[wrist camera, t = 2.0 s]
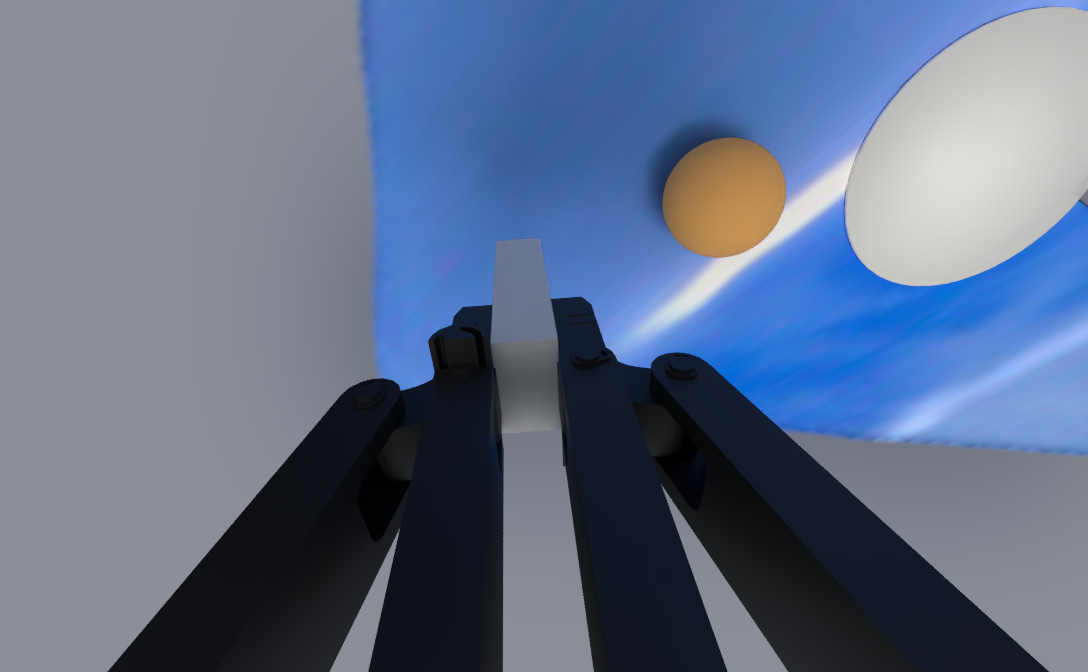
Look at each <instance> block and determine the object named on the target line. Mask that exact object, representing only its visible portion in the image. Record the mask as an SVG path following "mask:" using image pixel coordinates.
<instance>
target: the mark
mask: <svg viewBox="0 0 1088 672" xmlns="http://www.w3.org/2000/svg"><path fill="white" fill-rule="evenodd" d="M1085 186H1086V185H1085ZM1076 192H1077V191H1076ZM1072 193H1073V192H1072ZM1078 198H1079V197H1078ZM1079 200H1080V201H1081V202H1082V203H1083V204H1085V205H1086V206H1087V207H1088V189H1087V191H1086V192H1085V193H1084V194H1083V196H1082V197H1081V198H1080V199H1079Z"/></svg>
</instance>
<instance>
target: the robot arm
mask: <svg viewBox="0 0 1088 672" xmlns="http://www.w3.org/2000/svg"><path fill="white" fill-rule="evenodd" d="M428 343H429V348H430V352H431V357H432V362H433V366H434V371H435V373H434V377H433V379H432V380H430V381H428V382H427V383H425V384H422V385H419V386H416V387H413V388H410V389H406V390H403V391H400V387H399V385H398V384H397V383H395V382H394V381H393V380H388V379H384V378H382V379H371V380H367V381H363V382H360V383H358V384H356V385H354V386H352V387H350V388H349V389H348V390H346V391H345V392H344V393H343V394H342V395H341V396H340V397H339V398H338V400H337V401H336V402H335V403H334V404H333V405H332V407H331V408H330V409H329V410H328V411H327V413H326V414H325V415H324V416H323V417H322V418H321V420H320V421H319V422H318V423H317V425H316V426H315V427H314V428H313V429H312V430H311V431H310V433H309V434H308V435H307V436H306V438H305V439H304V440H303V441H302V442H301V443H300V445H299V446H298V447H297V448H296V449H295V450H294V452H293V453H292V454H291V455H290V456H289V457H288V459H287V460H286V461H285V462H284V464H283V465H282V466H281V467H280V468H279V469H278V471H277V472H276V473H275V474H274V475H273V476H272V478H271V479H270V480H269V481H268V482H267V484H266V485H265V486H264V487H263V488H262V490H261V491H260V492H259V493H258V494H257V495H256V497H255V498H254V499H253V500H252V501H251V503H250V504H249V505H248V506H247V507H246V508H245V510H244V511H243V512H242V513H241V514H240V516H239V517H238V518H237V519H236V520H235V521H234V523H233V524H232V525H231V526H230V527H229V529H228V530H227V531H226V532H225V533H224V534H223V536H222V537H221V538H220V539H219V540H218V542H217V543H216V544H215V545H214V546H213V548H212V549H211V550H210V551H209V552H208V553H207V555H206V556H205V557H204V558H203V559H202V560H201V562H200V563H199V564H198V565H197V566H196V568H195V569H194V570H193V571H192V572H191V574H190V575H189V576H188V577H187V578H186V579H185V581H184V582H183V583H182V584H181V585H180V587H179V588H178V589H177V590H176V591H175V592H174V594H173V595H172V596H171V597H170V598H169V600H168V601H167V602H166V603H165V604H164V606H163V607H162V608H161V609H160V610H159V611H158V613H157V614H156V615H155V616H154V617H153V619H152V620H151V621H150V622H149V623H148V624H147V626H146V627H145V628H144V629H143V630H142V632H141V633H140V634H139V635H138V636H137V638H136V639H135V640H134V641H133V642H132V643H131V645H130V646H129V647H128V648H127V649H126V651H125V652H124V653H123V654H122V655H121V657H120V658H119V659H118V660H117V661H116V662H115V664H114V665H113V666H112V667H111V668H110V670H109V671H108V672H330V670H331V667H332V666H333V663H334V661H335V659H336V657H337V655H338V653H339V651H340V649H341V647H342V645H343V643H344V641H345V639H346V637H347V635H348V633H349V631H350V629H351V627H352V625H353V622H354V620H355V619H356V617H357V614H358V612H359V610H360V608H361V606H362V604H363V602H364V600H365V598H366V596H367V594H368V592H369V590H370V588H371V586H372V584H373V582H374V579H375V578H376V575H377V574H378V572H379V569H380V567H381V565H382V563H383V561H384V559H385V557H386V555H387V553H388V551H389V549H390V547H391V545H392V543H393V541H394V539H395V537H396V534H397V533H398V531H399V529H400V531H399V536H398V540H397V545H396V549H395V554H394V558H393V563H392V567H391V572H390V576H389V581H388V585H387V590H386V594H385V599H384V603H383V608H382V612H381V617H380V621H379V626H378V630H377V635H376V639H375V644H374V649H373V653H372V658H371V662H370V667H369V671H368V672H503V473H504V471H503V470H504V468H503V467H504V466H503V463H504V462H503V459H504V452H503V451H504V449H503V442H502V435H501V434H502V433H503V434H512V433H523V432H534V431H546V430H558V429H561V427H562V447H563V466H565V467H566V474H567V481H568V488H569V495H570V503H571V510H572V516H573V524H574V532H575V538H576V546H577V553H578V560H579V568H580V574H581V582H582V589H583V596H584V604H585V611H586V618H587V625H588V632H589V639H590V647H591V654H592V661H593V668H594V672H727V669H726V666H725V664H724V660H723V658H722V655H721V652H720V649H719V646H718V644H717V641H716V638H715V635H714V632H713V630H712V627H711V624H710V621H709V618H708V615H707V613H706V610H705V607H704V604H703V601H702V599H701V596H700V593H699V590H698V587H697V584H696V582H695V579H694V576H693V573H692V570H691V568H690V565H689V562H688V559H687V556H686V553H685V551H684V548H683V545H682V542H681V539H680V536H679V534H678V531H677V528H676V525H675V522H674V520H673V517H672V514H671V511H670V508H669V505H668V503H667V500H666V497H665V494H664V492H663V489H662V486H663V487H664V489H665V490H666V492H667V493H668V495H669V496H670V498H671V499H672V501H673V502H674V504H675V505H676V507H677V508H678V510H679V511H680V512H681V514H682V515H683V517H684V518H685V520H686V521H687V523H688V524H689V526H690V527H691V529H692V530H693V532H694V533H695V535H696V536H697V538H698V539H699V540H700V542H701V543H702V545H703V546H704V548H705V549H706V551H707V552H708V554H709V555H710V557H711V558H712V560H713V561H714V563H715V564H716V565H717V567H718V568H719V570H720V571H721V573H722V574H723V576H724V577H725V579H726V580H727V582H728V583H729V585H730V586H731V588H732V589H733V591H734V592H735V594H736V595H737V596H738V598H739V599H740V601H741V602H742V604H743V605H744V607H745V608H746V610H747V611H748V613H749V614H750V616H751V617H752V619H753V620H754V621H755V623H756V624H757V626H758V628H759V629H760V630H761V632H762V633H763V635H764V636H765V638H766V639H767V641H768V642H769V644H770V645H771V647H772V648H773V650H774V651H775V653H776V654H777V656H778V657H779V658H780V660H781V661H782V663H783V664H784V666H785V667H786V669H787V670H788V672H1049V671H1047V670H1046V669H1045V668H1044V667H1043V666H1042V665H1041V664H1040V663H1039V662H1038V661H1036V660H1035V659H1034V658H1033V657H1032V656H1031V655H1030V654H1029V653H1027V651H1025V650H1024V649H1023V648H1022V647H1021V646H1020V645H1019V644H1018V643H1017V642H1016V641H1014V640H1013V639H1012V638H1011V637H1010V636H1009V635H1008V634H1007V633H1006V632H1004V631H1003V630H1002V629H1001V628H1000V627H999V626H998V625H997V624H996V623H994V622H993V621H992V620H991V619H990V618H989V617H988V616H987V615H986V614H985V613H983V612H982V611H981V610H980V609H979V608H978V607H977V606H976V605H975V604H974V603H972V602H971V601H970V600H969V599H968V598H967V597H966V596H965V595H964V594H962V593H961V592H960V591H959V590H958V589H957V588H956V587H955V586H954V585H953V584H951V583H950V582H949V581H948V580H947V579H946V578H944V576H943V575H941V574H940V573H939V572H938V571H937V570H936V569H935V568H934V567H933V566H932V565H930V564H929V563H928V562H927V561H926V560H925V559H924V558H923V557H922V556H921V555H919V554H918V553H917V552H916V551H915V550H914V549H913V548H912V547H911V546H909V545H908V544H907V543H906V542H905V541H904V540H903V539H902V538H901V537H900V536H898V535H897V534H896V533H895V532H894V531H893V530H892V529H890V527H888V526H887V525H886V524H885V523H884V522H883V521H882V520H881V519H880V518H878V517H877V516H876V515H875V514H874V513H873V512H872V511H871V510H870V509H868V508H867V507H866V506H865V505H864V504H863V503H862V502H861V501H860V500H859V499H857V498H856V497H855V496H854V495H853V494H852V493H851V492H850V491H849V490H848V489H846V488H845V487H844V486H843V485H842V484H841V483H840V482H839V481H838V480H837V479H835V478H834V477H833V476H832V475H831V474H830V473H829V472H828V471H827V470H825V469H824V468H823V467H822V466H821V465H820V464H819V463H818V462H816V461H815V460H814V459H813V458H812V457H811V456H810V455H809V454H808V453H807V452H806V451H804V450H803V449H802V448H801V447H800V446H799V445H798V444H797V443H796V442H795V441H793V440H792V439H791V438H790V437H789V436H788V435H787V434H786V433H785V432H784V431H782V430H781V429H780V428H779V427H778V426H777V425H776V424H775V423H774V422H772V421H771V420H770V419H769V418H768V417H767V416H766V415H765V414H764V413H763V412H761V411H760V410H759V409H758V408H757V407H756V406H755V405H754V404H753V403H751V402H750V401H749V400H748V399H747V398H746V397H745V396H744V395H743V394H742V393H740V392H739V391H738V390H737V389H736V388H735V387H734V386H733V385H732V384H730V383H729V382H728V381H727V380H726V379H725V378H724V377H723V376H722V375H721V374H719V373H718V372H717V371H716V370H715V369H714V368H713V367H712V366H711V365H709V364H708V363H707V362H706V361H704V360H702V359H701V358H699V357H697V356H693V355H690V354H686V353H667V354H664V355H661V356H659V357H657V358H656V359H655V360H654V361H653V362H652V365H651V369H650V368H641V367H634V366H629V365H626V364H623V363H620V362H618V361H617V359H616V356H615V355H614V354H613V352H612V351H611V350H609V349H608V348H606V347H605V344H604V341H603V338H602V335H601V332H600V329H599V326H598V323H597V320H596V317H595V315H594V311H593V308H592V305H591V304H590V303H589V302H588V301H586V300H585V299H584V298H582V297H572V298H559V299H551V298H550V293H549V287H548V281H547V276H546V270H545V265H544V259H543V254H542V248H541V242H540V238H531V239H518V240H504V241H496V253H495V271H494V289H493V305H485V306H472V307H462V308H461V310H460V311H459V312H458V313H457V314H456V315H455V316H454V319H453V324H452V326H448V327H445V328H443V329H440V330H439V331H437V332H436V333H434V334H433V335H432V336H431V338H430V339H429V341H428ZM661 484H662V486H661Z"/></svg>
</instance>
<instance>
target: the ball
mask: <svg viewBox="0 0 1088 672" xmlns="http://www.w3.org/2000/svg"><path fill="white" fill-rule="evenodd" d="M785 199H786V184H785V178H784V174H783V172H782V170H781V167H780V165H779V163H778V162H777V160H776V159H775V158H774V157H773V155H772V154H771V153H770V152H769V151H768V150H766V149H765V148H764V147H762V146H761V145H759V144H757V143H755V142H753V141H750V140H747V139H742V138H736V137H726V138H719V139H714V140H710V141H708V142H705V143H703V144H701V145H699V146H697V147H695V148H694V149H692V150H691V151H690V152H688V153H687V154H686V155H685V156H684V157H683V158H681V160H680V161H679V162H678V163H677V164H676V166H675V167H674V168H673V170H672V172H671V173H670V175H669V177H668V180H667V182H666V185H665V189H664V193H663V205H662V206H663V214H664V218H665V222H666V224H667V227H668V229H669V230H670V232H671V234H672V235H673V237H674V238H675V239H676V240H677V241H678V242H679V243H680V244H681V245H683V246H684V247H685V248H687V249H688V250H690V251H692V252H694V253H697V254H699V255H703V256H707V257H729V256H733V255H737V254H740V253H743V252H745V251H747V250H749V249H751V248H753V247H754V246H756V245H757V244H759V243H760V242H761V241H762V240H763V239H765V238H766V237H767V236H768V235H769V233H770V232H771V231H772V230H773V228H774V227H775V225H776V224H777V222H778V220H779V218H780V216H781V214H782V211H783V208H784V205H785Z"/></svg>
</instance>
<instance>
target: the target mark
mask: <svg viewBox="0 0 1088 672" xmlns="http://www.w3.org/2000/svg"><path fill="white" fill-rule="evenodd" d="M1085 185H1086V186H1085ZM1087 189H1088V11H1084V10H1080V9H1075V8H1070V7H1045V8H1037V9H1030V10H1025V11H1021V12H1018V13H1014V14H1010V15H1007V16H1004V17H1002V18H999V19H997V20H994V21H992V22H989V23H987V24H985V25H983V26H981V27H979V28H977V29H975V30H973V31H972V32H970V33H968V34H966V35H964V36H962V37H961V38H960V39H958V40H957V41H955V42H954V43H952V44H951V45H949V46H948V47H946V48H945V49H943V50H942V51H941V52H939V53H938V54H937V55H936V56H935V57H933V58H932V59H931V60H930V61H928V62H927V63H926V64H925V65H923V66H922V67H921V68H920V69H919V70H918V71H917V72H916V73H915V74H914V75H913V76H912V77H911V78H910V79H909V80H908V81H907V82H906V83H905V84H904V85H903V86H902V88H901V89H900V90H899V91H898V92H897V93H896V94H895V96H894V97H893V98H892V99H891V100H890V101H889V103H888V104H887V106H886V107H885V108H884V110H883V111H882V113H881V114H880V115H879V117H878V118H877V119H876V121H875V123H874V124H873V126H872V128H871V129H870V131H869V133H868V134H867V136H866V138H865V140H864V142H863V144H862V146H861V148H860V150H859V152H858V154H857V157H856V159H855V162H854V165H853V168H852V171H851V173H850V177H849V181H848V185H847V190H846V196H845V206H844V215H845V227H846V232H847V237H848V239H849V242H850V244H851V247H852V249H853V251H854V252H855V254H856V256H857V257H858V259H859V260H860V261H861V262H862V263H863V264H864V265H865V266H866V267H867V268H868V269H869V270H871V271H872V272H874V273H875V274H876V275H878V276H880V277H882V278H884V279H886V280H889V281H892V282H895V283H899V284H903V285H911V286H931V285H939V284H946V283H950V282H954V281H958V280H962V279H965V278H968V277H971V276H974V275H976V274H979V273H981V272H983V271H986V270H988V269H990V268H992V267H994V266H996V265H998V264H1000V263H1002V262H1004V261H1005V260H1007V259H1009V258H1011V257H1012V256H1014V255H1015V254H1017V253H1019V252H1020V251H1022V250H1023V249H1025V248H1026V247H1027V246H1029V245H1030V244H1032V243H1033V242H1034V241H1036V240H1037V239H1038V238H1040V237H1041V236H1042V235H1043V234H1044V233H1046V232H1047V231H1048V230H1049V229H1050V228H1051V227H1053V226H1054V225H1055V224H1056V223H1057V222H1058V221H1059V220H1060V219H1061V218H1062V217H1063V216H1064V215H1065V214H1066V213H1067V212H1068V211H1069V210H1070V209H1071V208H1072V207H1073V206H1074V205H1075V204H1076V202H1077V201H1078V200H1079V199H1080V198H1081V197H1082V196H1083V194H1084V193H1085V192H1086V191H1087ZM1076 191H1077V192H1076ZM1072 192H1073V193H1072ZM1078 197H1079V198H1078Z"/></svg>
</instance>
